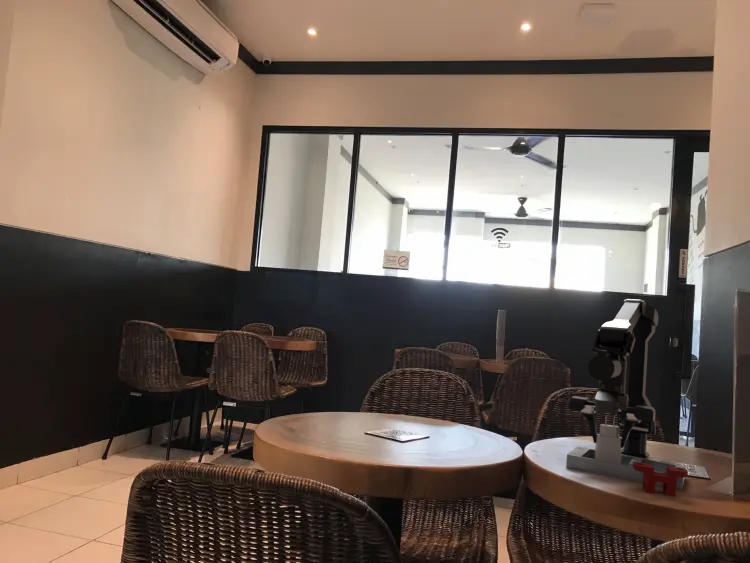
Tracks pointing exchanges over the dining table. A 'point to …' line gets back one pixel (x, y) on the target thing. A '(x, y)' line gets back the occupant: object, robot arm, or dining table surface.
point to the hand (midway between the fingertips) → (608, 445)
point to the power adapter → (608, 443)
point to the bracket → (660, 477)
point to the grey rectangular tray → (615, 466)
